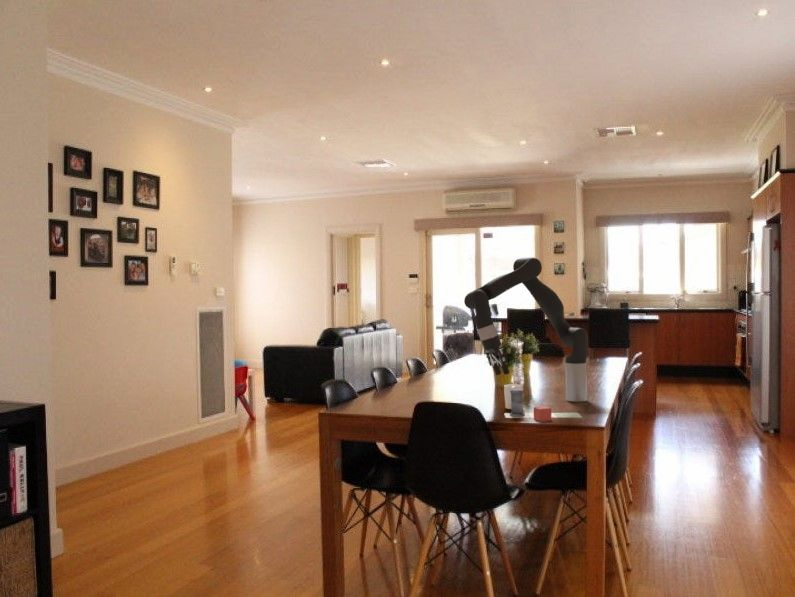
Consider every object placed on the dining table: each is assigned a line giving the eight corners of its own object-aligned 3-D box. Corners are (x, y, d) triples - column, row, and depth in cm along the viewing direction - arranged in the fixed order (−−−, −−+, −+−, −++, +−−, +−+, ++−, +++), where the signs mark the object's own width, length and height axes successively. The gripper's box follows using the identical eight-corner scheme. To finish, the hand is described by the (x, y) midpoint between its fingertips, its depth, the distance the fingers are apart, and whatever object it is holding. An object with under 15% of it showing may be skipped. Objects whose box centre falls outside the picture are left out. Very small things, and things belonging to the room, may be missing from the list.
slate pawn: (509, 414, 277) (508, 389, 277) (524, 413, 277) (523, 389, 276) (510, 416, 271) (509, 391, 271) (525, 416, 271) (525, 391, 270)
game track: (503, 414, 279) (503, 413, 279) (578, 413, 277) (578, 412, 277) (505, 418, 269) (505, 417, 269) (582, 418, 267) (582, 417, 267)
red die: (533, 419, 266) (533, 405, 266) (545, 418, 267) (545, 405, 267) (539, 422, 261) (539, 407, 261) (551, 421, 262) (551, 407, 262)
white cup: (509, 410, 287) (508, 387, 287) (501, 407, 294) (500, 384, 294) (526, 409, 289) (525, 386, 289) (517, 406, 297) (517, 383, 297)
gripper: (475, 341, 285) (488, 378, 284) (487, 338, 271) (501, 376, 270) (490, 335, 287) (503, 372, 286) (504, 332, 273) (517, 370, 272)
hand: (502, 374), depth 278 cm, fingers open, 8 cm apart
